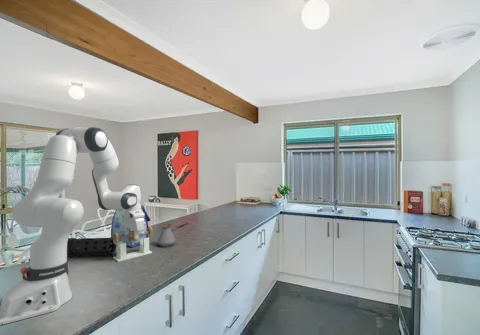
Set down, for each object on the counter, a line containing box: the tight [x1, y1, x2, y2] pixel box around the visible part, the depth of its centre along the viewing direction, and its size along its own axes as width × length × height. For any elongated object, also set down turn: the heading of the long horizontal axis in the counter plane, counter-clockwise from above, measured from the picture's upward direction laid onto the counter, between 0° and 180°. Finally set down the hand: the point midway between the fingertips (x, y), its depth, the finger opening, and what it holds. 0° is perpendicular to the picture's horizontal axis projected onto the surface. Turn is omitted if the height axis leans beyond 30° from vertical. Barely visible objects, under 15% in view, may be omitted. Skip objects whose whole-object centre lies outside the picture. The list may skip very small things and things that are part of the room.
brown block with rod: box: [113, 226, 154, 244], centre depth 143 cm, size 20×6×6 cm, turn 135°
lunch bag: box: [110, 204, 151, 248], centre depth 168 cm, size 22×17×26 cm
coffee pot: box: [157, 222, 190, 248], centre depth 161 cm, size 21×12×15 cm, turn 79°
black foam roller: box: [67, 237, 117, 257], centre depth 144 cm, size 10×28×10 cm, turn 93°
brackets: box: [113, 236, 153, 262], centre depth 143 cm, size 19×7×9 cm, turn 135°
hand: (133, 236), depth 143 cm, fingers closed on brown block with rod, 4 cm apart
